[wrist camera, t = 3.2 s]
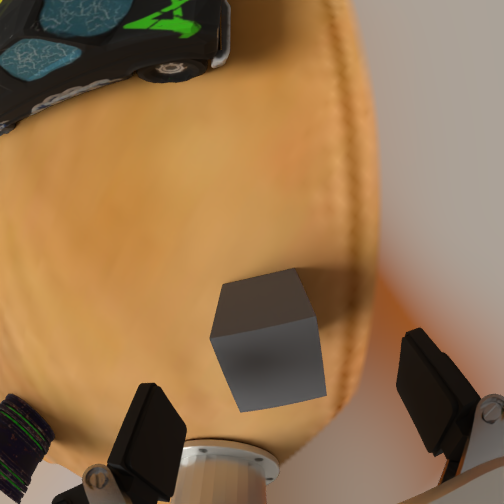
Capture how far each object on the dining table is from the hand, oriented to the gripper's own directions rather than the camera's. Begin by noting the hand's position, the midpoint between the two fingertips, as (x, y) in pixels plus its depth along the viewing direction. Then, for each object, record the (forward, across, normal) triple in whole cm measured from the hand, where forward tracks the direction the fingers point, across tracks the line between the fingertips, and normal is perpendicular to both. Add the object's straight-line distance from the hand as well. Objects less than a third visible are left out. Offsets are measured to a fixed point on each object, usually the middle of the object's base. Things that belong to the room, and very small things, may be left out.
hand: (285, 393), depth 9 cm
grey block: (+8, +1, +1) cm, 8 cm away
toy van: (+9, +10, -21) cm, 25 cm away
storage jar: (+7, +39, +14) cm, 42 cm away
